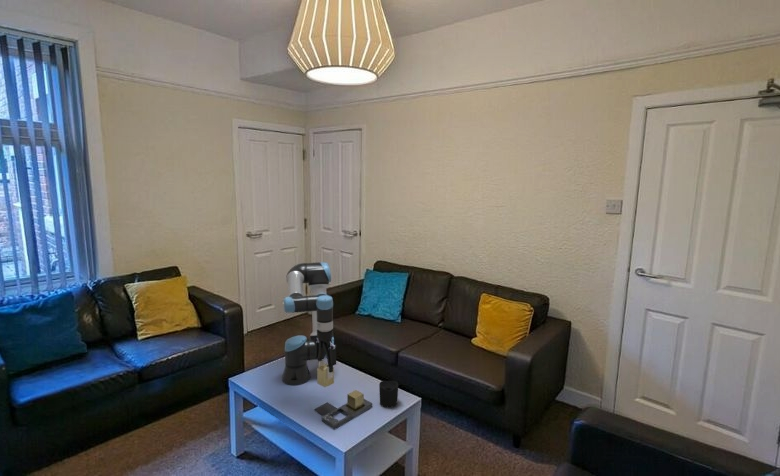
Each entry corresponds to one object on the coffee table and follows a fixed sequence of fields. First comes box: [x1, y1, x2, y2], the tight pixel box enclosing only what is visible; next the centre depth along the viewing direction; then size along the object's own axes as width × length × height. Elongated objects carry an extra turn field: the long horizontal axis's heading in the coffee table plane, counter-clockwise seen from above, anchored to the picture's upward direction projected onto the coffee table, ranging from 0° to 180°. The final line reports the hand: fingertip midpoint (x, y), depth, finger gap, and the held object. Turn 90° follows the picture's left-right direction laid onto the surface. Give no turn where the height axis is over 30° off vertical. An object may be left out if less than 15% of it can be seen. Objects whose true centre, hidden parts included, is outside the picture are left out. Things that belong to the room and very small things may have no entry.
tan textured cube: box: [316, 363, 335, 388], centre depth 187 cm, size 6×6×8 cm
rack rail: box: [321, 398, 373, 430], centre depth 186 cm, size 9×24×2 cm, turn 138°
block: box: [346, 389, 365, 411], centre depth 190 cm, size 6×6×8 cm
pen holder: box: [378, 380, 399, 409], centre depth 195 cm, size 9×9×10 cm
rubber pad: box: [313, 402, 338, 417], centre depth 189 cm, size 8×8×1 cm
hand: (325, 375), depth 187 cm, fingers closed on tan textured cube, 6 cm apart
